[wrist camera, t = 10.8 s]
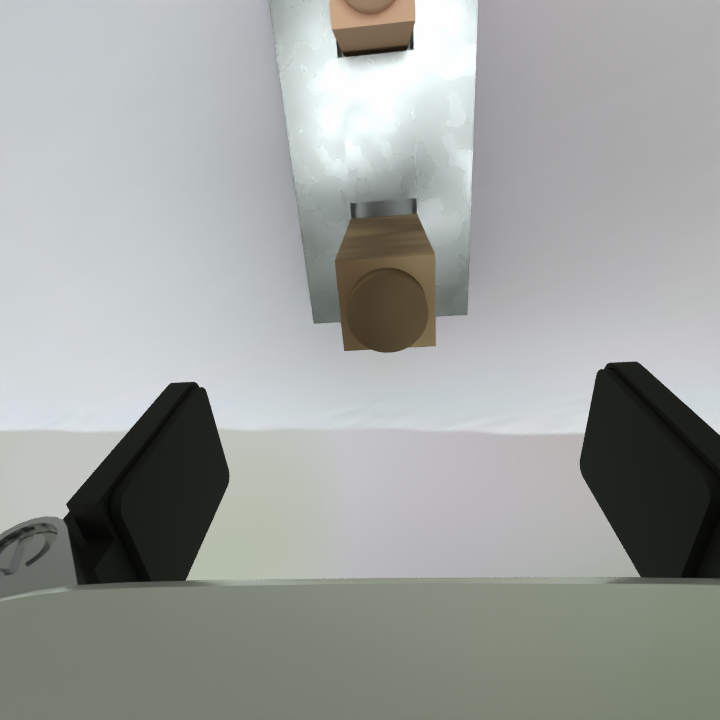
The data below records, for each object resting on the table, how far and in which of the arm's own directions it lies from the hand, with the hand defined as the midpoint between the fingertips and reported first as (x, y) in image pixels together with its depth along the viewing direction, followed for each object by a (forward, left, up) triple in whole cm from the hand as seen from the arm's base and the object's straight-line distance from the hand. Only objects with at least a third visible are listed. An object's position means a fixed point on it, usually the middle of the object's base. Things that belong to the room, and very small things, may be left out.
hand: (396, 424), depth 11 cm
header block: (0, -6, -28) cm, 29 cm away
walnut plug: (0, 0, -19) cm, 19 cm away
